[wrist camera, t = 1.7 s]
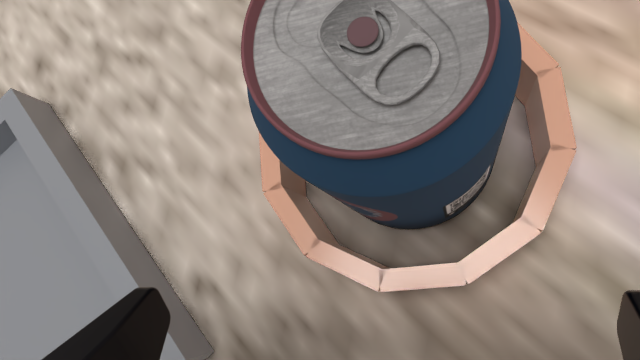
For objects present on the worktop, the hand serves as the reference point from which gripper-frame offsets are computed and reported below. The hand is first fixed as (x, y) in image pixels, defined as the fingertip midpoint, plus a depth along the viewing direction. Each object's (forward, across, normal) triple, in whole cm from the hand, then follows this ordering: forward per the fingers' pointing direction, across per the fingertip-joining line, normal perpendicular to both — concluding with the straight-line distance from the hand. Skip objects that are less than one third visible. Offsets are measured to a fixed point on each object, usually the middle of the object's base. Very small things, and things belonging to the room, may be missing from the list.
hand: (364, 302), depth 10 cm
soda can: (+13, 0, +5) cm, 14 cm away
